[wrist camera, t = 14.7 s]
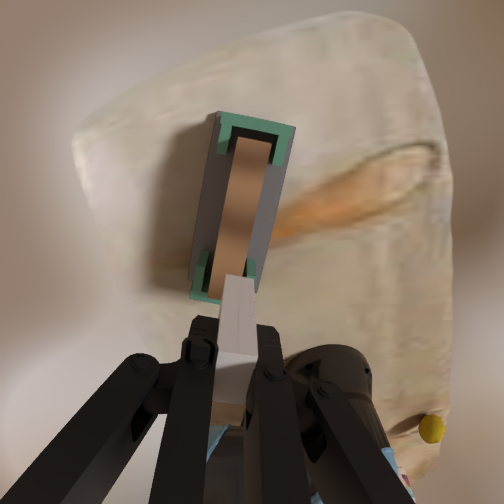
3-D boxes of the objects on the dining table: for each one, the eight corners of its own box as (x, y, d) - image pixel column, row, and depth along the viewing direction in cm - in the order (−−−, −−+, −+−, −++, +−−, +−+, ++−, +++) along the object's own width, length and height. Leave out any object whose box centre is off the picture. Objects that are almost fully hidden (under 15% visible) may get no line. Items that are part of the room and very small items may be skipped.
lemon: (429, 404, 53) (444, 430, 46) (439, 411, 54) (453, 436, 47) (409, 420, 55) (422, 447, 47) (420, 426, 56) (432, 452, 48)
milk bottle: (373, 483, 65) (390, 540, 46) (381, 470, 62) (400, 531, 43) (398, 476, 65) (417, 531, 46) (407, 463, 62) (429, 521, 44)
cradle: (256, 288, 42) (258, 313, 36) (188, 276, 41) (180, 299, 36) (294, 127, 35) (304, 125, 29) (218, 111, 34) (212, 106, 28)
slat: (237, 271, 40) (236, 303, 33) (214, 266, 40) (207, 297, 32) (266, 141, 35) (271, 143, 27) (239, 136, 34) (238, 136, 27)
